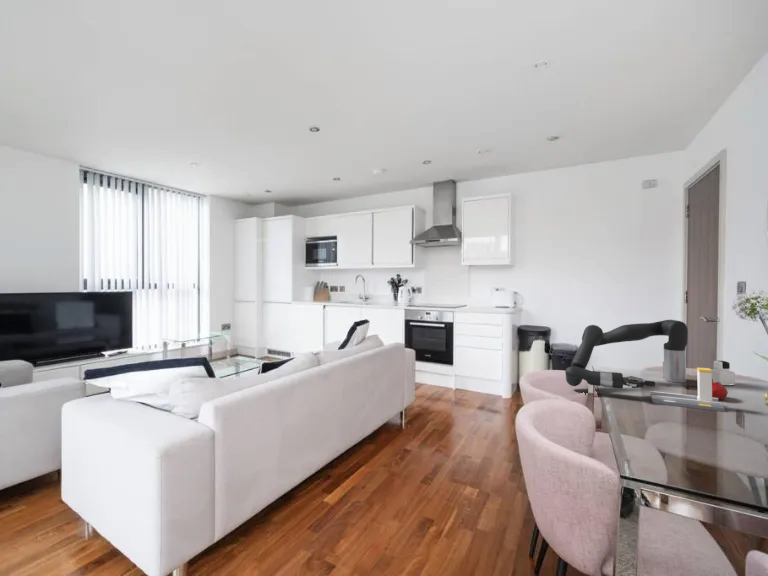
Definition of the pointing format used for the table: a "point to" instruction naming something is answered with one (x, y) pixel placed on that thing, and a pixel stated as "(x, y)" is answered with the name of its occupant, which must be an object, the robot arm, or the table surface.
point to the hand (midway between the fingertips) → (655, 384)
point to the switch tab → (704, 384)
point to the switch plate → (685, 401)
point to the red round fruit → (718, 391)
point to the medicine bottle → (723, 373)
